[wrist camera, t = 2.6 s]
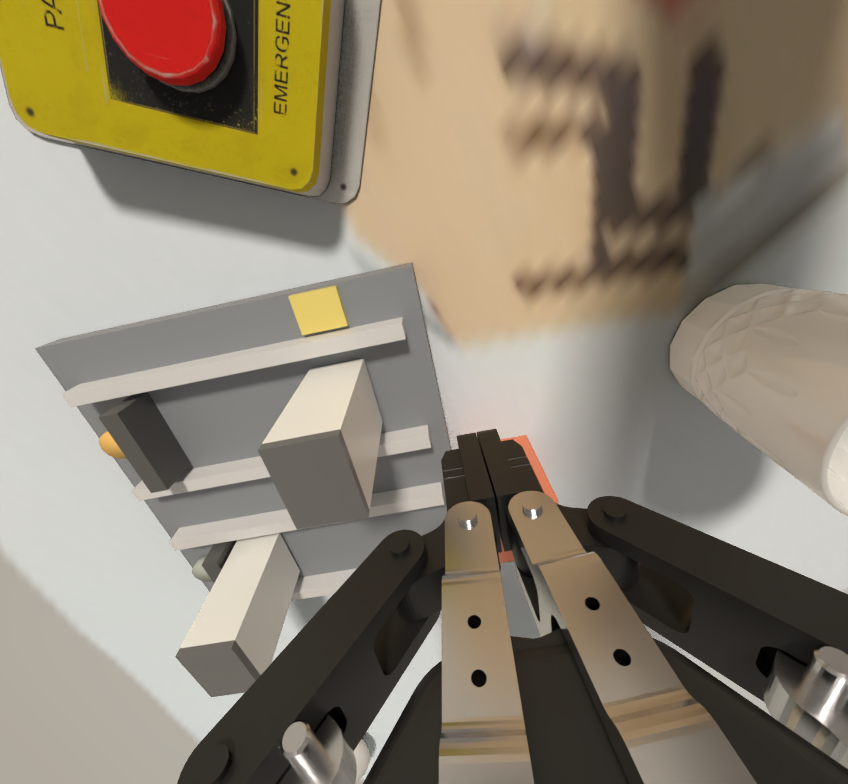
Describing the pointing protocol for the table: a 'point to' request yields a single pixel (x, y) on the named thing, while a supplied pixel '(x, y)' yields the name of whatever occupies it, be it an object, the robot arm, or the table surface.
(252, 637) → the block
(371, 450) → the off-white rectangular block
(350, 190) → the emergency button
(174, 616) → the table surface
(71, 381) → the board
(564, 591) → the robot arm
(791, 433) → the white cup
